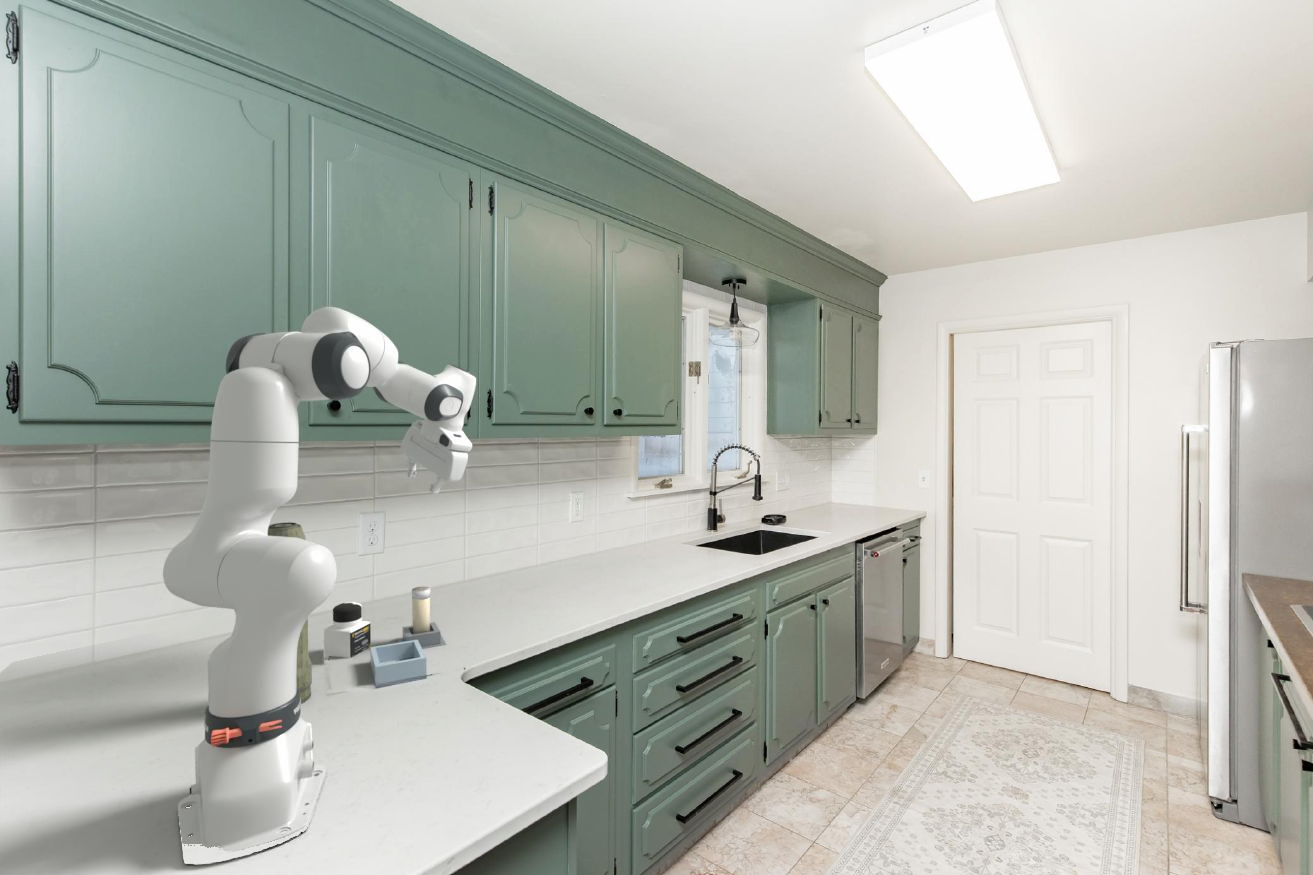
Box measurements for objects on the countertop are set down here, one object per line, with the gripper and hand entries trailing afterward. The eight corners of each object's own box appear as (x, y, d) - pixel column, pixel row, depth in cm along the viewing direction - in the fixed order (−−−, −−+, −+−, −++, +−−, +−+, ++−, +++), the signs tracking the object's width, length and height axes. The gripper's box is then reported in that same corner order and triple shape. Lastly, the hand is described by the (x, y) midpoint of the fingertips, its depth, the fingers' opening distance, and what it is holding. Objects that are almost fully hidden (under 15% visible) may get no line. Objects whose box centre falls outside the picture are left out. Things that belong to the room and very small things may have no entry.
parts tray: (426, 678, 132) (426, 657, 132) (375, 688, 127) (375, 667, 127) (417, 658, 143) (417, 639, 143) (370, 667, 138) (370, 647, 138)
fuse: (431, 642, 150) (431, 590, 149) (413, 645, 148) (413, 592, 147) (428, 637, 153) (428, 585, 153) (411, 640, 151) (410, 587, 151)
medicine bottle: (350, 662, 140) (350, 610, 140) (323, 659, 142) (322, 608, 141) (371, 650, 147) (370, 601, 147) (345, 647, 149) (344, 598, 148)
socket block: (446, 648, 149) (446, 632, 149) (402, 656, 144) (402, 639, 144) (439, 635, 157) (438, 619, 157) (396, 642, 153) (396, 626, 152)
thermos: (240, 709, 118) (237, 528, 117) (296, 683, 129) (293, 518, 128) (274, 717, 115) (270, 531, 113) (327, 690, 126) (325, 521, 125)
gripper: (404, 415, 150) (386, 467, 152) (456, 445, 140) (436, 501, 141) (425, 418, 156) (408, 469, 157) (477, 448, 145) (457, 501, 147)
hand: (421, 484), depth 149 cm, fingers open, 8 cm apart
